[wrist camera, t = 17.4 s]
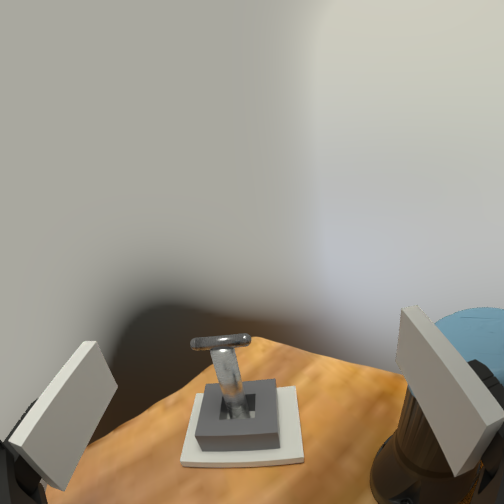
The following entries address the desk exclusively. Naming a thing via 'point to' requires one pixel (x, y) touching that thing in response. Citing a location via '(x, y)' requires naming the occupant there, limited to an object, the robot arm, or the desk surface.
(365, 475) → the desk surface
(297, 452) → the chuck block
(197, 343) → the chuck key
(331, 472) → the desk surface
